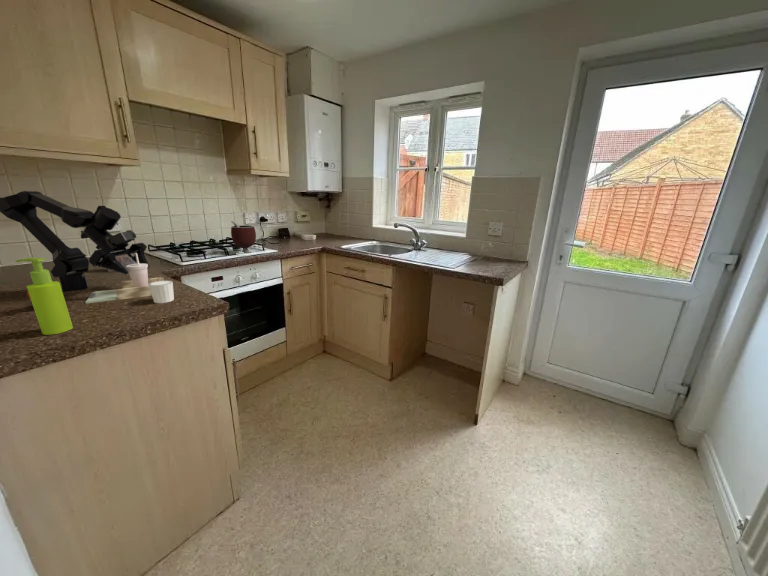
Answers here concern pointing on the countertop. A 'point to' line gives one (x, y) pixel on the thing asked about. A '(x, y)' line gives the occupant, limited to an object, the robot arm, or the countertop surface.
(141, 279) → the smoothie
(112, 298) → the pale green flat block
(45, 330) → the soap dispenser
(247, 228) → the mate gourd
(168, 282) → the white ramekin
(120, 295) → the wooden serving board
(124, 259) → the food item
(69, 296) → the countertop surface
